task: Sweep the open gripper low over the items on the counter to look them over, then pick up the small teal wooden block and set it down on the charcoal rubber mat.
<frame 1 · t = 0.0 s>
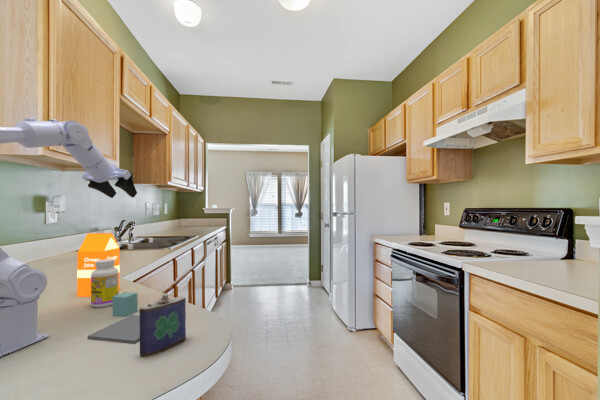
hand: (124, 195, 86), 32 cm above the counter, tool tilted 50°, fingers open, 7 cm apart
teal block: (125, 313, 74), on the counter
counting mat: (133, 328, 65), on the counter
orange juice: (99, 293, 93), on the counter
flask: (164, 348, 56), on the counter
supplement bottle: (104, 304, 82), on the counter
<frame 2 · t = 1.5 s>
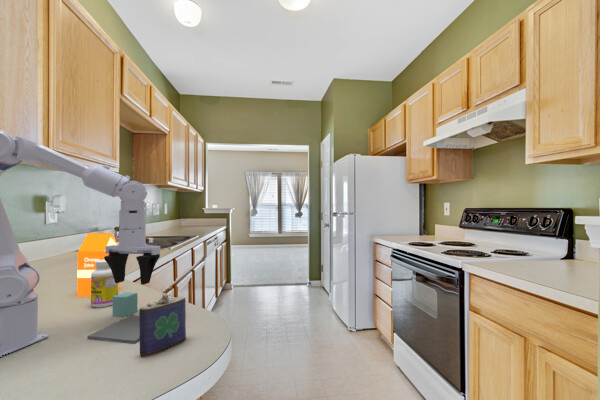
hand: (132, 282, 70), 9 cm above the counter, tool pointing down, fingers open, 7 cm apart
nothing on the counter moved.
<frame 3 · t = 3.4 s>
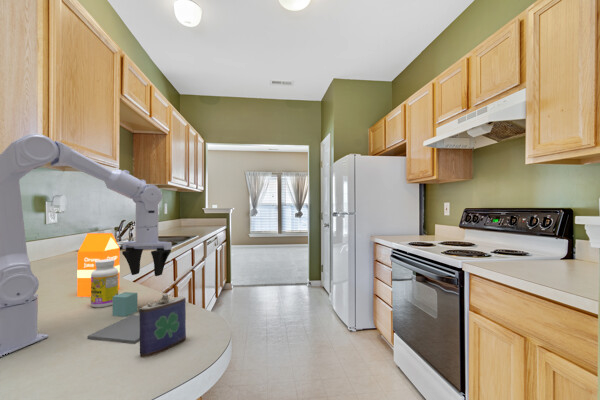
hand: (146, 274, 79), 9 cm above the counter, tool pointing down, fingers open, 7 cm apart
nothing on the counter moved.
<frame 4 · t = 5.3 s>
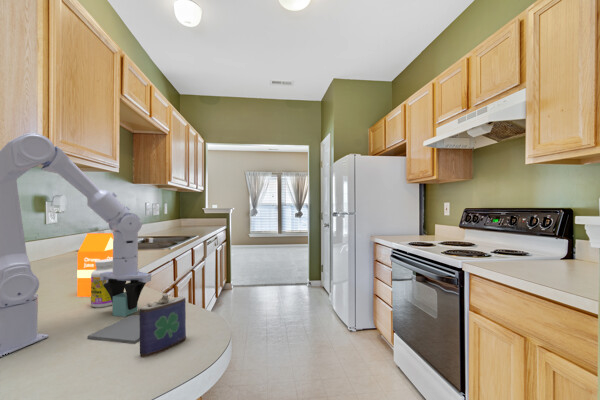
hand: (125, 307, 74), 1 cm above the counter, tool pointing down, fingers closed on teal block, 4 cm apart
teal block: (125, 313, 74), on the counter, touching gripper
everything else where it was.
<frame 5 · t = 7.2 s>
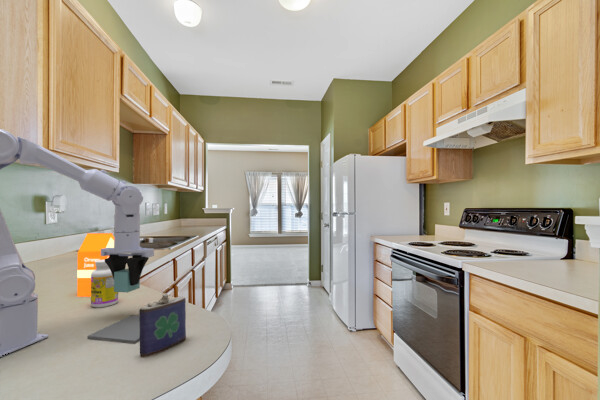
hand: (127, 284, 72), 8 cm above the counter, tool pointing down, fingers closed on teal block, 4 cm apart
teal block: (127, 289, 72), point 7 cm above the counter, touching gripper
everything else where it was.
when the fingers open (3 cm above the counter, at t = 9.5 s): teal block drops 1 cm, resting on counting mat.
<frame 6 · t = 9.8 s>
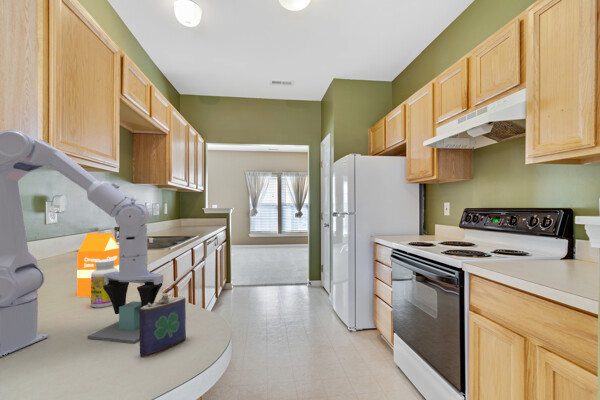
hand: (133, 313, 65), 4 cm above the counter, tool pointing down, fingers open, 7 cm apart
teal block: (133, 326, 65), point 1 cm above the counter, touching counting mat
everything else where it was.
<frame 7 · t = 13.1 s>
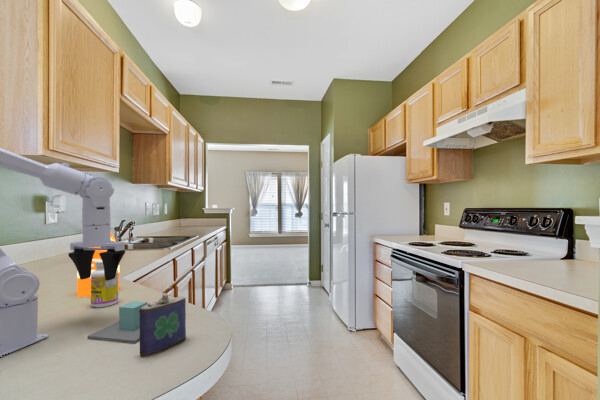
hand: (97, 279, 70), 10 cm above the counter, tool pointing down, fingers open, 7 cm apart
nothing on the counter moved.
at the end: teal block inside the target area on the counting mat (0.1 cm from its centre), point 0.6 cm above the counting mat's base; teal block tilted 0°; the gripper is holding nothing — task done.
